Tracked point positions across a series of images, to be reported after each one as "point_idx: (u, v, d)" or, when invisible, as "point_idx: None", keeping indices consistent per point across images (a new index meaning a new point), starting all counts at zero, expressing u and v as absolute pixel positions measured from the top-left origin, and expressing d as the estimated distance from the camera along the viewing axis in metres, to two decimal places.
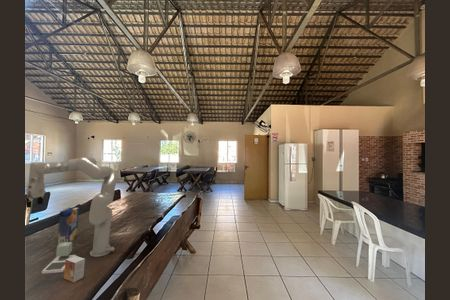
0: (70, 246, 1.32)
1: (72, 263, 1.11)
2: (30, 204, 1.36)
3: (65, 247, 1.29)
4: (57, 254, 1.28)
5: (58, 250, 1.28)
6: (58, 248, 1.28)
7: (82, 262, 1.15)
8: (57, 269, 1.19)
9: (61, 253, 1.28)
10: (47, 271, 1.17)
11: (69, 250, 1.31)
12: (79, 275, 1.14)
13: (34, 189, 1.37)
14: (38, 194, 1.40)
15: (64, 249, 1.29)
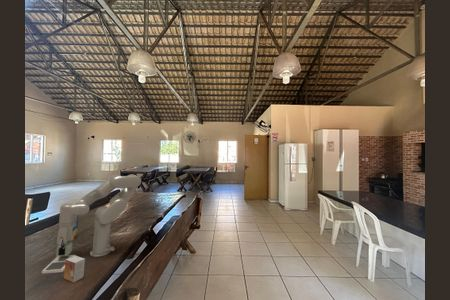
0: (70, 246, 1.32)
1: (72, 263, 1.11)
2: None
3: (65, 247, 1.29)
4: (57, 254, 1.28)
5: (58, 250, 1.28)
6: (58, 248, 1.28)
7: (82, 262, 1.15)
8: (57, 269, 1.19)
9: None
10: (47, 271, 1.17)
11: (69, 250, 1.31)
12: (79, 275, 1.14)
13: None
14: None
15: None
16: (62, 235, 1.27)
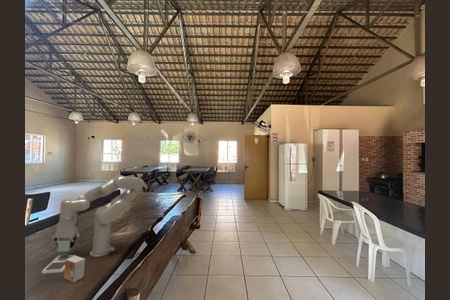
0: (64, 244, 1.29)
1: (72, 263, 1.11)
2: None
3: None
4: None
5: None
6: None
7: (82, 262, 1.15)
8: (57, 269, 1.19)
9: None
10: (47, 271, 1.17)
11: (62, 248, 1.28)
12: (79, 275, 1.14)
13: None
14: None
15: None
16: None
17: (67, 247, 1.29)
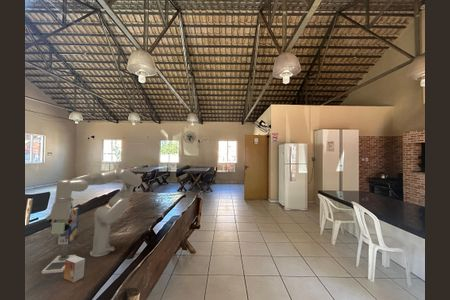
0: (58, 226, 1.22)
1: (72, 263, 1.11)
2: None
3: None
4: None
5: None
6: None
7: (82, 262, 1.15)
8: (57, 269, 1.19)
9: None
10: (47, 271, 1.17)
11: (56, 230, 1.21)
12: (79, 275, 1.14)
13: None
14: None
15: None
16: None
17: (61, 229, 1.22)
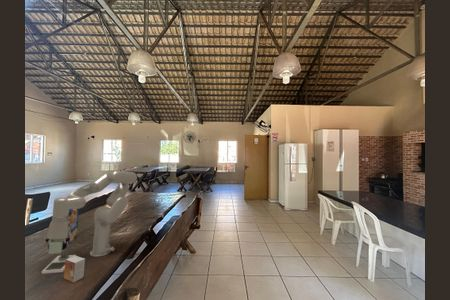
0: (56, 245, 1.20)
1: (72, 263, 1.11)
2: None
3: None
4: None
5: None
6: None
7: (82, 262, 1.15)
8: (57, 269, 1.19)
9: None
10: (47, 271, 1.17)
11: (53, 249, 1.19)
12: (79, 275, 1.13)
13: None
14: None
15: None
16: None
17: (59, 249, 1.20)
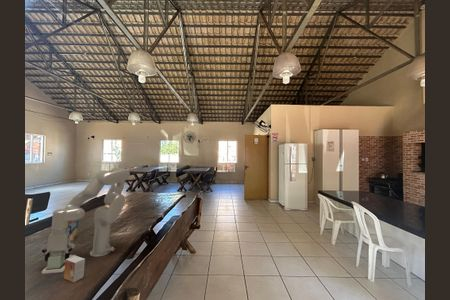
0: (54, 260, 1.20)
1: (72, 263, 1.11)
2: (68, 254, 1.25)
3: None
4: None
5: None
6: None
7: (82, 262, 1.15)
8: (57, 269, 1.19)
9: None
10: (47, 271, 1.17)
11: (52, 264, 1.19)
12: (79, 275, 1.14)
13: None
14: None
15: None
16: None
17: (58, 263, 1.20)
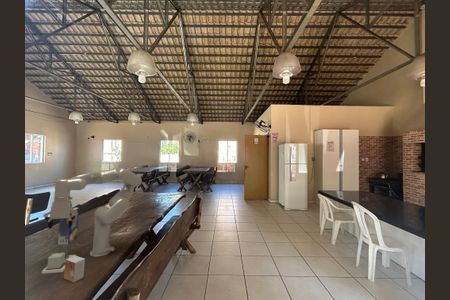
0: (54, 260, 1.20)
1: (72, 263, 1.11)
2: None
3: None
4: None
5: None
6: None
7: (82, 262, 1.15)
8: (57, 269, 1.19)
9: None
10: (47, 271, 1.17)
11: (52, 264, 1.19)
12: (79, 275, 1.14)
13: None
14: None
15: None
16: None
17: (58, 263, 1.20)
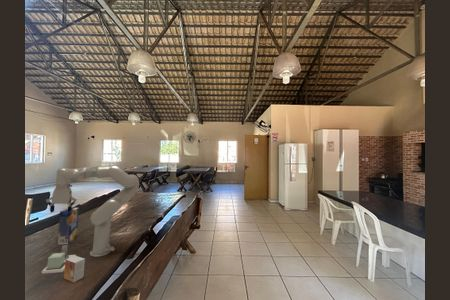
0: (54, 260, 1.20)
1: (72, 263, 1.11)
2: None
3: None
4: None
5: None
6: None
7: (82, 262, 1.15)
8: (57, 269, 1.19)
9: None
10: (47, 271, 1.17)
11: (52, 264, 1.19)
12: (79, 275, 1.13)
13: None
14: None
15: None
16: None
17: (58, 263, 1.20)
